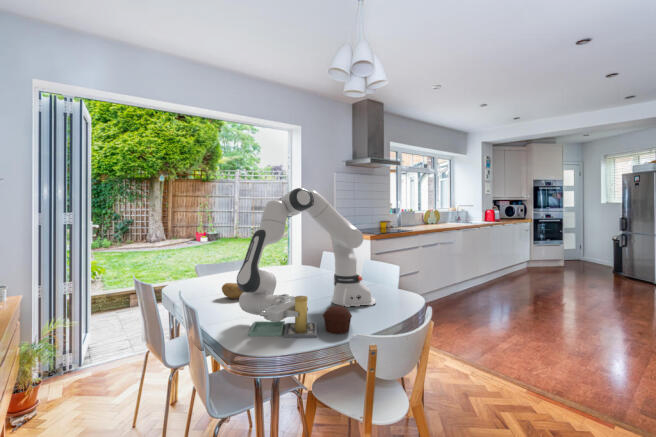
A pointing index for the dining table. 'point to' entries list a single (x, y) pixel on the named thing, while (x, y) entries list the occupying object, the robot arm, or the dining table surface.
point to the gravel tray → (292, 334)
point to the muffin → (337, 319)
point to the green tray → (267, 328)
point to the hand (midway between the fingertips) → (303, 312)
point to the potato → (231, 290)
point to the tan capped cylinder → (301, 314)
